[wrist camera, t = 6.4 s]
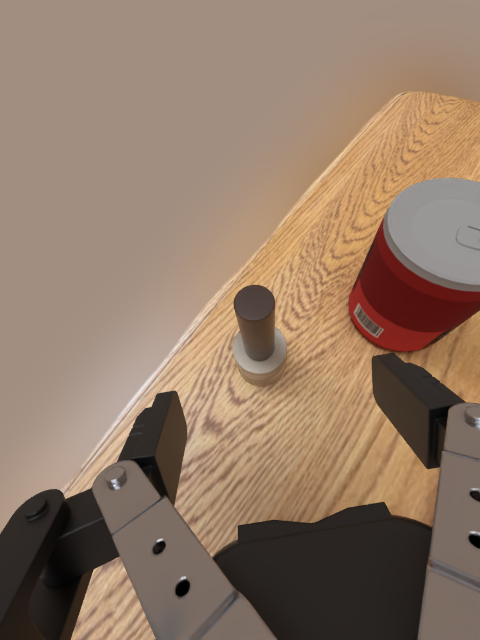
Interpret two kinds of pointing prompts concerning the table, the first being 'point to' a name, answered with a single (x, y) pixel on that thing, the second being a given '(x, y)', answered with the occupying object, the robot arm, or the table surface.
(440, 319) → the red supplement tub
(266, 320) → the brown dowel with collar
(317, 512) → the table surface
